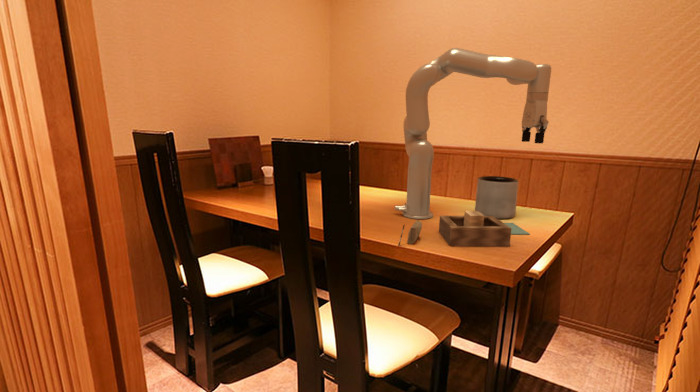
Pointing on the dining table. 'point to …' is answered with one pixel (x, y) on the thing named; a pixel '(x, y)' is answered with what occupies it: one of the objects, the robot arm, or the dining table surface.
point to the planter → (496, 196)
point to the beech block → (473, 218)
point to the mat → (516, 229)
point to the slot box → (474, 232)
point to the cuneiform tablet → (413, 232)
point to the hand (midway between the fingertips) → (532, 142)
